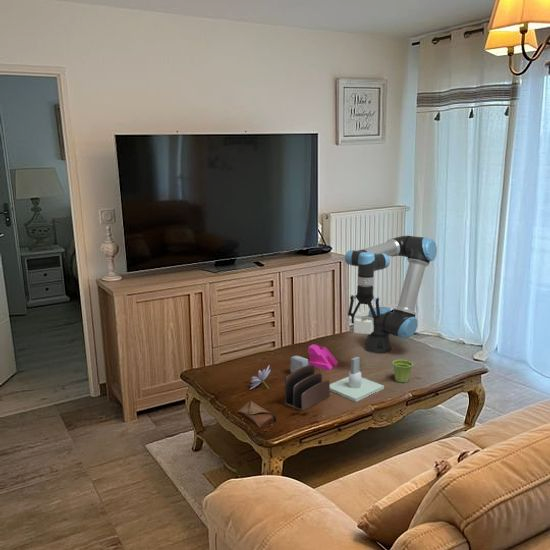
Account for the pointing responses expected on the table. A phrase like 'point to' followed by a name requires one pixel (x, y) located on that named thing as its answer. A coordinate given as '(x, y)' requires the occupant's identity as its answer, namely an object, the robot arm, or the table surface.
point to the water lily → (260, 378)
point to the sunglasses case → (257, 414)
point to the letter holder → (305, 388)
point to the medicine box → (298, 363)
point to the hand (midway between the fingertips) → (363, 330)
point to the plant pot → (402, 370)
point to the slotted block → (363, 325)
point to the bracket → (321, 357)
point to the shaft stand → (355, 384)
